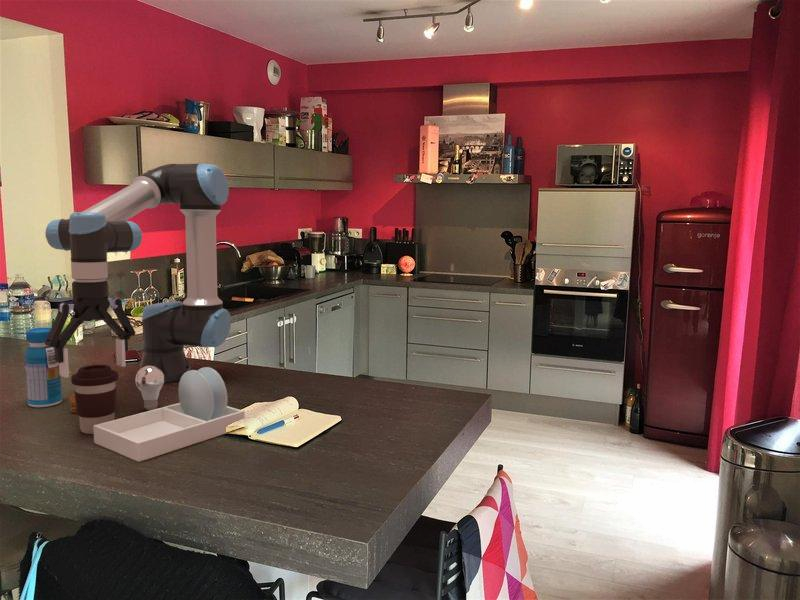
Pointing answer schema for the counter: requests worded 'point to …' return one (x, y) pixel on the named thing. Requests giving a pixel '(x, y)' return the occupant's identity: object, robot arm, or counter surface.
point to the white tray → (160, 431)
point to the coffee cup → (95, 395)
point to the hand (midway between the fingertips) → (93, 371)
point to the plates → (203, 394)
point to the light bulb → (150, 385)
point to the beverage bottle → (41, 370)
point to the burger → (73, 403)
